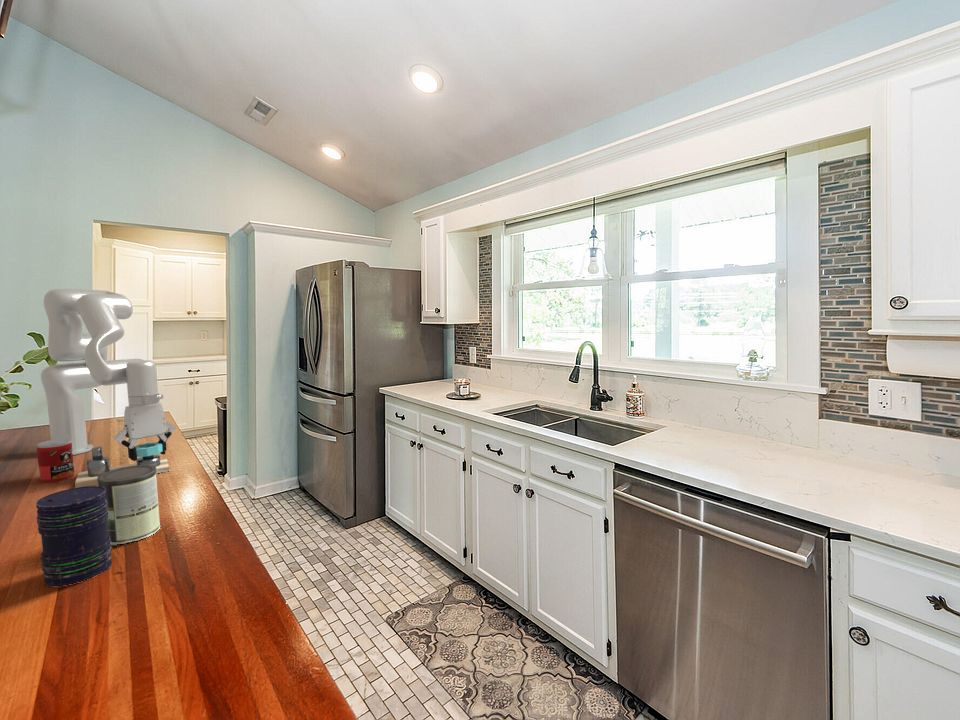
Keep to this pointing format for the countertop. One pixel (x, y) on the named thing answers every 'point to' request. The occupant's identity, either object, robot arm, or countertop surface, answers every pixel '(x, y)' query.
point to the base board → (88, 481)
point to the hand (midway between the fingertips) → (148, 456)
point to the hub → (149, 460)
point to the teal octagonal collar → (148, 449)
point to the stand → (97, 463)
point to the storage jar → (74, 535)
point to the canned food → (55, 460)
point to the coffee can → (131, 503)
